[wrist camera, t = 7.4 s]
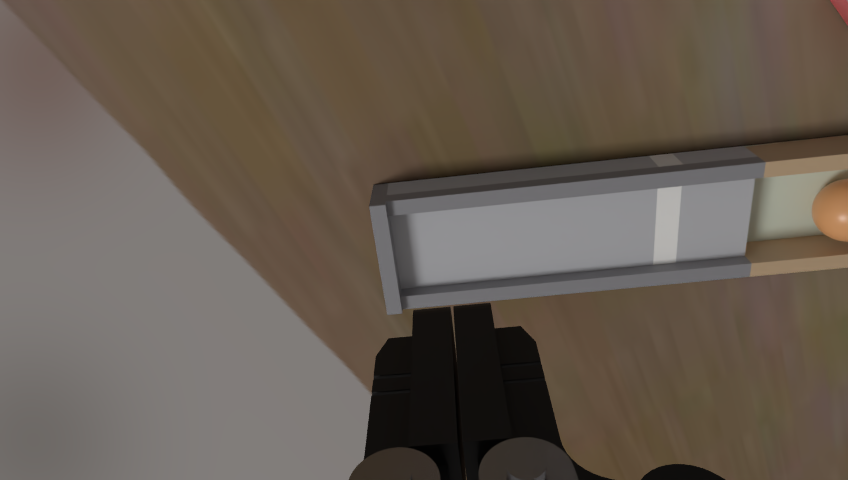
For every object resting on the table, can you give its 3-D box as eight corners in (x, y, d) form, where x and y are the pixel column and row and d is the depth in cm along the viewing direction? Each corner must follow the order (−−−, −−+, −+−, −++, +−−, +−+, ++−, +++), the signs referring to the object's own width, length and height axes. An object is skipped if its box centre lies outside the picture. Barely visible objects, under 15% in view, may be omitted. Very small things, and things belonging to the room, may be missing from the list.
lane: (373, 184, 42) (368, 209, 38) (905, 129, 40) (951, 149, 37) (390, 287, 46) (386, 318, 42) (878, 240, 44) (918, 269, 40)
